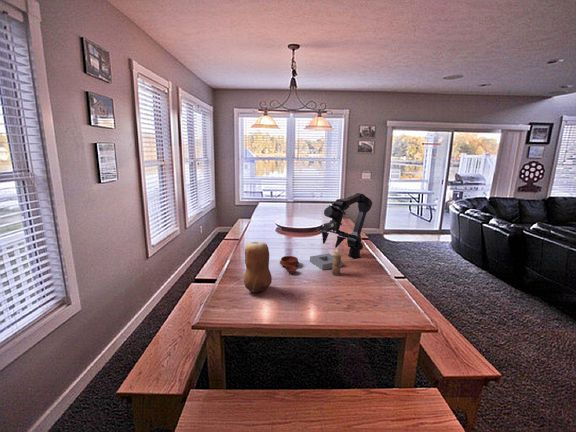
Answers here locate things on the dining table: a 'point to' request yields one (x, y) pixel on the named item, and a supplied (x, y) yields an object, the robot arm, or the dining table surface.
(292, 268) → the pottery
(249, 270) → the butternut squash
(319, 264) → the socket block
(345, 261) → the dining table surface
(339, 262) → the tan wooden cylinder
